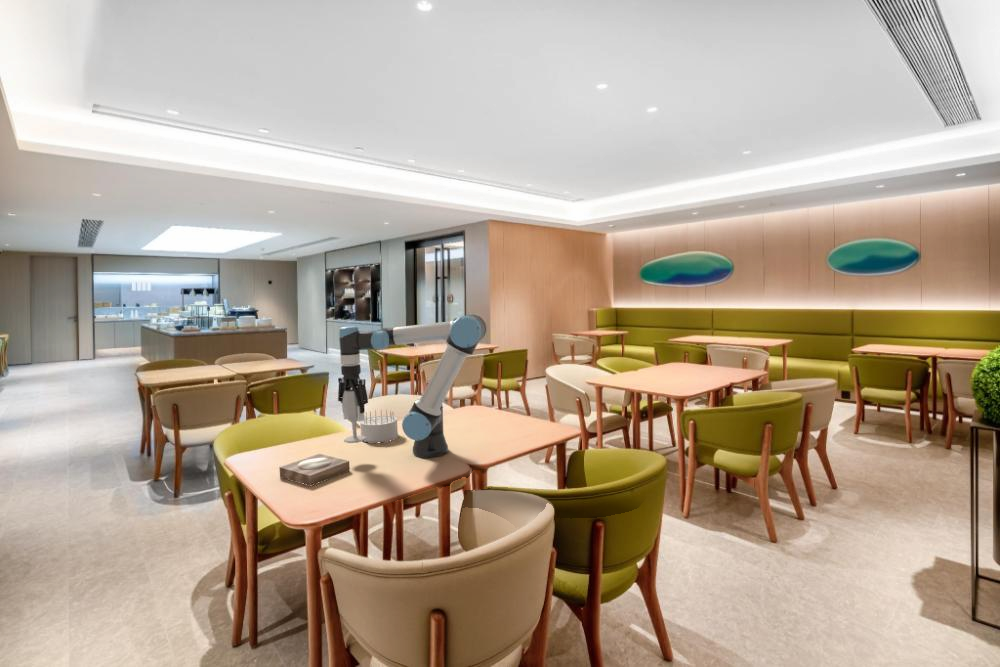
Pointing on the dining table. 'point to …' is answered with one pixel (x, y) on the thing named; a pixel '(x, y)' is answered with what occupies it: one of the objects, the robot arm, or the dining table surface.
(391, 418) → the cake
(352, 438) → the wineglass
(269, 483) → the dining table surface
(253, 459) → the dining table surface
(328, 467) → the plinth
